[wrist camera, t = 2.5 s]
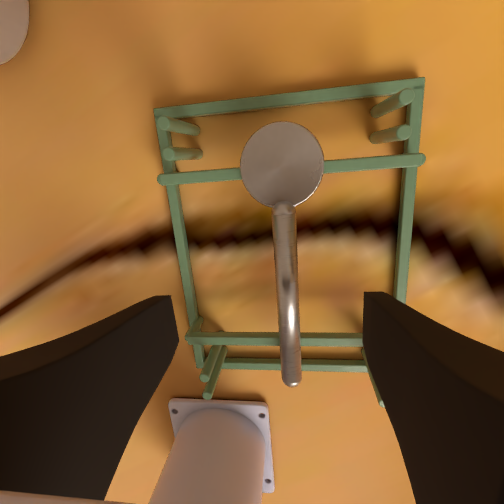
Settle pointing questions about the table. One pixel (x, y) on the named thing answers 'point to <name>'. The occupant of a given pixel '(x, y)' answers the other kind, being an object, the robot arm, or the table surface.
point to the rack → (403, 95)
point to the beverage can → (12, 27)
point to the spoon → (284, 216)
